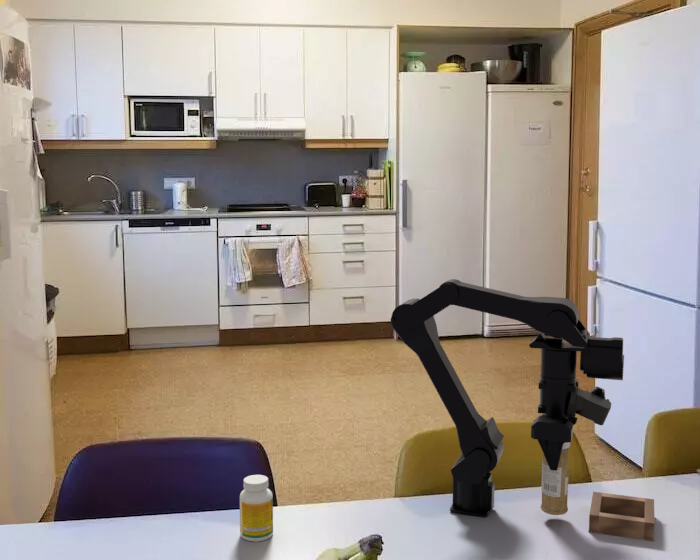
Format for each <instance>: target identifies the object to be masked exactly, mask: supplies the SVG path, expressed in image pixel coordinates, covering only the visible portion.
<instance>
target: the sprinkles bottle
mask: <svg viewBox="0 0 700 560" xmlns="http://www.w3.org/2000/svg"><path fill="white" fill-rule="evenodd" d="M570 447H571V442H568V443H566V442H565V443H564V444H563V447H562V452H561V456H560V460H559V464H558V469H557V470H556V471H554V470H550V468H549V465H548V463H547V460H546V458H545V456H544V453H543V452H542V461H541V463H542V464H541V505H540V509H541V511H542V512H544V513H546V514H547V515H551V516H552V515H553V516H560V515H565V514H567V512H568V511H569V507H568V494H569V455H570V454H569V453H570V452H569V451H570Z"/></svg>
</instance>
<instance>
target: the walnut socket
mask: <svg viewBox="0 0 700 560" xmlns="http://www.w3.org/2000/svg"><path fill="white" fill-rule="evenodd" d="M589 509H590V510H589V516H588V517H589V518H588V519H589V520H588V533H594V534H601V535H608V536H614V537H615V536H616V537H621V538H628V539H635V540H643V541H648V542H654V541H655V538H654V537H655V522H656V520H655V499H654V498H646V497H640V496H639V497H637V496H631V495H623V494H615V493H605V492H601V491H600V492H598V491H592V497H591V502H590V508H589Z"/></svg>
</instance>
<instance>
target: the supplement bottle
mask: <svg viewBox="0 0 700 560" xmlns="http://www.w3.org/2000/svg"><path fill="white" fill-rule="evenodd" d="M269 484H270V483H269V477H267V476H266V475H263V474H252V475H251V474H250V475H248V476H245V477H244V478H243V490H242V491H241V492H240V494H239V533H240V537H241V538H242V539H244V540H245V541H249V542H255V543H256V542H263V541H265V540H268V539H269V538H271V537H272V536H273V534H274V511H273V510H274V507H273V505H274V503H273V501H274V499H273V492H272V490H271V489H270V488H269Z"/></svg>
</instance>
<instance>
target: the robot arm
mask: <svg viewBox="0 0 700 560" xmlns="http://www.w3.org/2000/svg"><path fill="white" fill-rule="evenodd" d="M449 306H456V307H461V308H465V309H470V310H473V311H477V312H482V313H485V314H489V315H494V316H498V317H503V318H505V319H510V320H515V321H518V322H520V323H523V324H524V325H526V326H528V327H530V328H532V329H533V330H535V331H538V332H539V333H538V334H537V336H536V337H535V338H534V339H532V340H531V342H530V343H529V345H528V346H529V348H530V349H539V350H540V349H541V350H540V379H539V381H538V390H539V403H538V407H537V414H540V415H539V416H537V417H536V418H535V419H534V420H533V422H532V424H531V426H530V438H531V439H533V440H537V442H538V444H539V447H540V448H541V450H542V451H541V452H542V454H543V453H544V456H545V458H546V460H547V463H548V465H549V468H550V470H554V471H556V470H557V469H558V464H559V460H560V456H561V452H562V447H563V444H564V443H565V442H566V443H568V442H570V443H571V442H572V440H573V437H574V426H575V425H576V424H577V423H578V422H577V421H578V417H577V416H576V415H579V416H580V417H583V418H585V419H587V420H590V421H592V422H593V423H594V424H596V425H598V426H603V425H604V424H605V423H606V420H607V417H608V415H609V413H610V411H611V408H612V402H611V401H610V399H609V398H606V391H605V389H604V388H603V387H599V386H598V385H597V386H595V387H593V388H592V389H591V390H589V389H586V390H583V389H581V388H580V387H579V384H580V383H579V382H580V381H578V378H577V363H578V361H577V357H578V355H577V354H578V352H580V356H579V357H580V358H579V360H580V361H579V371H580V372H582V373H583V375H586V378H587V379H601V380H610V381H611V380H612V381H624V366H625V365H624V363H625V355H624V338H623V337H616V336H615V337H596V336H591V334H590V332H589V331H588V328H587V327H585V325H584V324H583V322H582V321H581V319H580V312H579V311H580V310H579V308H578V306H577V305H576V303H575V302H574V301H572V300H571V299H569V298H566V297H556V296H555V297H553V296H523V295H521V294H515V293H510V292H506V291H502V290H497V289H494V288H489V287H484V286H481V285H475V284H472V283H466V282H462V281H461V280H458V279H455V278H451V279H448V280H446V281H445V282H443V283H441V284H440V285H439V287H437V288H436V289H435V290H433V291H431V292H430V293H428V294H427V295H425V296H424V297H422V298H411V299H408V300H406V301H404V302H403V303H401V304H399V305H398V306H397V307H395V308H394V310H393V311H392V314H391V317H390V325H391V328H392V329H393V331H394V332H395V333H396V335H397V336H398V337H399V338H400V340H401V341H402V342H403V343H404V344H405V346H407V347H408V348H409V349H410V350H412V352H414V353H415V354H416V356H418V359H419V360H420V362H421V365H422V366H423V368H424V370H425V372H426V373H427V376H428V377H429V379H430V381H431V383H432V385H433V387H434V388H435V390H436V392H437V394H438V395H439V397H440V400H441V401H442V403H443V405H444V407H445V408H446V411H447V412H448V414H449V416H450V418H451V420H452V422H453V424H454V425H455V428H456V435H457V439H458V444H459V449H460V452H461V453H460V455H459V456H458V457H457V459H456V460H455V462H454V465H453V466H452V467H451V469H450V472H451V475H452V504H451V506H450V508H449V512H451V513H455V514H464V515H468V516H469V515H470V516H477V517H484V518H485V517H488V515H489V513H490V511H491V510H493V507H494V506H495V488H496V487H495V482H494V481H492V478H493V475H492V471H493V470H494V469H495V468H496V467H497V465H498V463H499V461H500V459H501V456H502V455H503V451H504V448H505V447H504V446H505V445H504V441H503V439H504V438H505V435H504V434H503V432H501V431H500V429H498V426H497V423H496V420H495V418H494V417H493V416H492V417H490V418H488V419H487V420H486V419H485V418H484V417H483V416H481V414H479V412H478V411H477V409H476V407H475V405H474V403H473V402H472V400H471V398H470V396H469V394H468V393H467V390H466V388H465V387H464V384H462V381H461V379H460V377H459V376H458V374H457V372H456V370H455V368H454V367H453V365H452V363H451V361H450V359H449V357H448V355H447V353H446V352H445V350H444V348H443V346H442V344H441V341H440V338H439V331H438V327H437V323H436V319H435V315H437V314H438V313H440V312H442V311H443V310H445V309H446V308H448V307H449Z"/></svg>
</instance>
